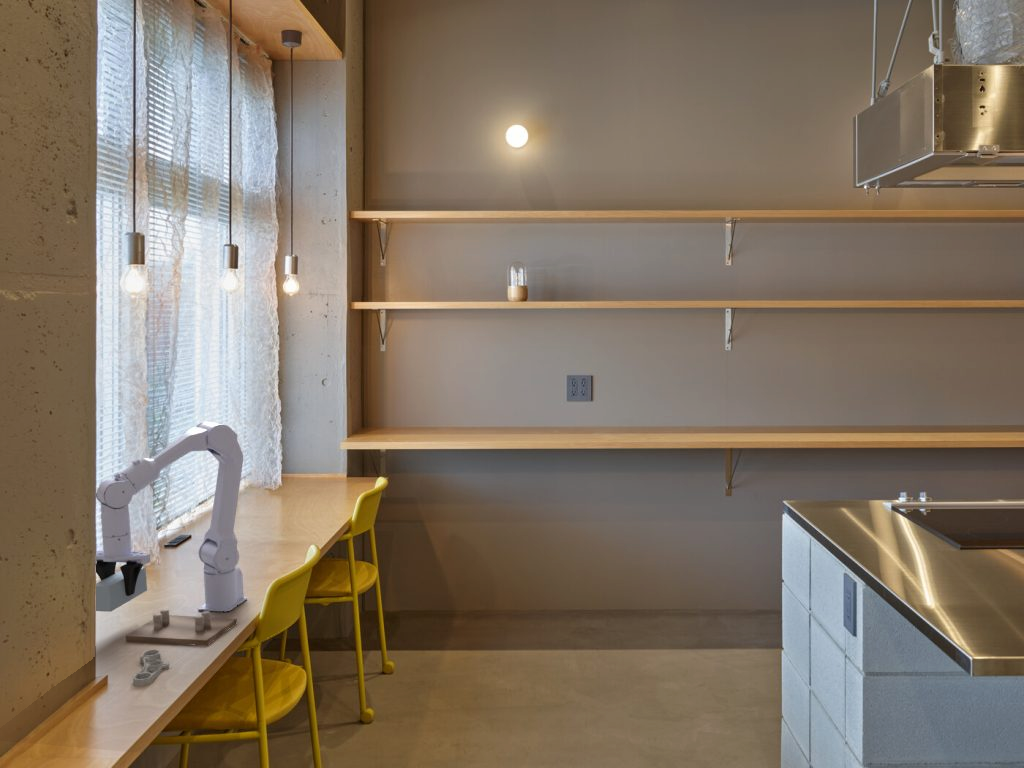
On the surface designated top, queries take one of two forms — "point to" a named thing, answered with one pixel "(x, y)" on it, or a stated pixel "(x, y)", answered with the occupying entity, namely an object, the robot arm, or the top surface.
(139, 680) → the bracket
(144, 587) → the pale blue rectangular block
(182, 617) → the peg stand
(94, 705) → the top surface
